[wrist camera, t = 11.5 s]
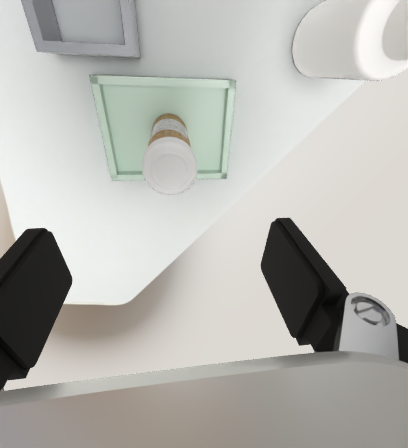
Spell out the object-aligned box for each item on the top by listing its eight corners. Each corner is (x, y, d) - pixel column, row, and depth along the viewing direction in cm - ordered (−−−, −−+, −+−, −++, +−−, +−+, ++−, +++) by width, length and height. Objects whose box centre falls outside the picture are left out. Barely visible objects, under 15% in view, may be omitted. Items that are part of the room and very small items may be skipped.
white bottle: (327, 84, 29) (492, 99, 14) (281, 67, 27) (414, 66, 12) (359, 15, 25) (627, -61, 10) (309, -9, 23) (543, -140, 9)
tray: (93, 74, 25) (89, 75, 24) (232, 80, 27) (236, 80, 26) (114, 175, 32) (111, 180, 30) (223, 173, 34) (226, 178, 32)
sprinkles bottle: (179, 154, 31) (185, 203, 20) (146, 140, 29) (134, 186, 18) (192, 121, 28) (207, 156, 18) (158, 105, 27) (151, 132, 16)
